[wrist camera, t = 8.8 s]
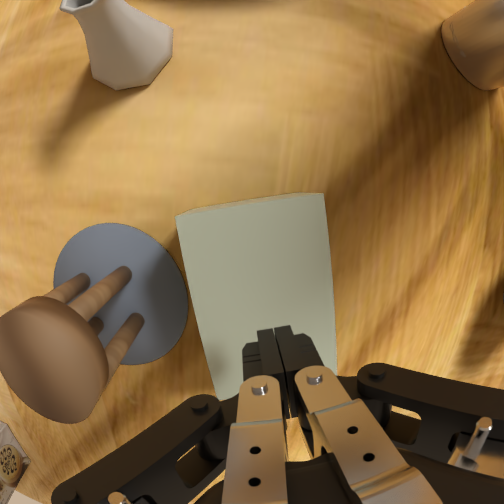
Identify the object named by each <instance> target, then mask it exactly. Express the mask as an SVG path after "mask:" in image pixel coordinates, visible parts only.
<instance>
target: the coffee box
mask: <svg viewBox="0 0 504 504" xmlns="http://www.w3.org/2000/svg"><path fill="white" fill-rule="evenodd" d="M30 462H31V461H30V460H29V458H28V457H27V455H26V454H25V452H24V451H23V449H22V448H21V446H20V445H19V443H18V442H17V440H16V439H15V437H14V435H13V434H12V432H11V430H10V429H9V427H8V425H7V424H6V423H3V422H1V421H0V504H7V503H8V502H9V500H10V498H11V496H12V494H13V492H14V490H15V488H16V486H17V485H18V483H19V481H20V479H21V477H22V476H23V474H24V472H25V470H26V469H27V467H28V465H29V463H30Z"/></svg>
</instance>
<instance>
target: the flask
mask: <svg viewBox="0 0 504 504" xmlns="http://www.w3.org/2000/svg"><path fill="white" fill-rule="evenodd" d="M60 10H61V11H63V12H66V13H69V14H73V15H74V17H75V18H76V19H77V20H78V22H79V24H80V26H81V28H82V30H83V32H84V34H85V39H86V44H87V49H88V53H89V59H90V65H91V72H92V76H93V78H94V79H96V80H98V81H100V82H101V83H103V84H105V85H107V86H109V87H111V88H113V89H114V90H121V89H126V88H131V87H137V86H142V85H148V84H151V82H152V81H153V80H154V78H155V77H156V76H157V74H158V73H159V72H160V71H161V69H162V68H163V67H164V66H165V64H166V63H167V62H168V61H169V60H170V58H171V57H172V44H173V28H171V27H169V26H168V25H166V24H164V23H162V22H160V21H158V20H156V19H154V18H152V17H150V16H148V15H146V14H145V13H143V12H141V11H139V10H137V9H135V8H134V7H132V6H130V5H129V4H127V3H126V2H125V1H124V0H62V2H61V6H60Z"/></svg>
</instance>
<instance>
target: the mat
mask: <svg viewBox="0 0 504 504" xmlns="http://www.w3.org/2000/svg"><path fill="white" fill-rule="evenodd" d="M120 266H127V267H128V268H129V269H130V270H131V272H132V279H131V280H130V281H129V282H128V283H127V284H126V285H125V286H124V287H123V288H122V289H121V290H120V291H119V292H117V293H116V294H115V295H114V296H113V297H112V298H111V299H110V300H109V301H108V302H107V303H106V304H105V305H104V306H103V307H102V308H101V309H100V310H99V311H97V312H96V313H95V314H94V315H93V316H92V317H91V318H93V317H97V318H99V319H101V320H102V322H103V324H104V328H103V330H102V331H101V332H100V333H99V335H98V338H99V340H100V341H101V343H102V345H103V348H104V349H105V347H106V346H107V345H108V343H109V342H110V341H111V339H112V338H113V337H114V335H115V334H116V333H117V331H118V330H119V329H120V328H121V326H122V325H123V324H124V322H125V321H126V320H127V318H128V317H129V316H130V315H131V314H132V313H139V314H141V315H142V316H143V318H144V320H145V323H144V325H143V327H142V328H141V330H140V332H139V333H138V335H137V337H136V338H135V340H134V341H133V343H132V345H131V346H130V348H129V350H128V351H127V353H126V355H125V356H124V358H123V359H122V361H121V363H120V364H125V365H138V364H145V363H148V362H152V361H154V360H156V359H159V358H160V357H162V356H163V355H165V354H166V353H167V352H169V351H170V350H171V349H172V348H173V347H174V345H175V344H176V343H177V342H178V340H179V338H180V337H181V335H182V332H183V330H184V328H185V324H186V320H187V314H188V297H187V290H186V286H185V283H184V279H183V277H182V275H181V272H180V270H179V268H178V267H177V265H176V263H175V261H174V260H173V258H172V257H171V256H170V254H169V253H168V252H167V251H166V250H165V249H164V248H163V247H162V245H161V244H159V243H158V242H157V241H156V240H155V239H153V238H152V237H151V236H149V235H147V234H146V233H144V232H143V231H140V230H138V229H136V228H134V227H131V226H127V225H124V224H117V223H104V224H97V225H94V226H91V227H88V228H86V229H84V230H82V231H80V232H79V233H77V234H76V235H74V236H73V237H72V238H71V239H70V240H69V241H68V242H67V244H66V245H65V246H64V248H63V249H62V251H61V253H60V255H59V257H58V260H57V263H56V267H55V271H54V281H53V282H54V289H55V288H57V287H58V286H60V285H62V284H63V283H65V282H66V281H68V280H70V279H71V278H73V277H75V276H76V275H78V274H80V273H85V274H87V275H88V276H89V278H90V281H91V283H90V286H89V287H88V288H87V289H86V290H84V291H83V292H82V293H80V294H79V295H78V296H76V297H75V298H74V299H72V300H71V301H70V302H68V303H67V305H69V304H70V303H71V302H73V301H74V300H75V299H77V298H78V297H79V296H80V295H82V294H83V293H84V292H86V291H87V290H88V289H90V288H91V287H92V286H94V285H95V284H97V283H98V282H99V281H101V280H102V279H103V278H105V277H106V276H107V275H109V274H110V273H112V272H113V271H114V270H116V269H117V268H119V267H120ZM91 318H90V319H91ZM90 319H89V320H90ZM89 320H88V321H89ZM88 321H87V322H88Z"/></svg>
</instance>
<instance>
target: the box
mask: <svg viewBox="0 0 504 504" xmlns="http://www.w3.org/2000/svg"><path fill="white" fill-rule="evenodd" d="M175 220H176V225H177V231H178V236H179V241H180V247H181V252H182V257H183V262H184V266H185V271H186V276H187V281H188V285H189V290H190V294H191V299H192V303H193V307H194V312H195V316H196V320H197V324H198V328H199V332H200V336H201V340H202V344H203V348H204V352H205V356H206V360H207V363H208V367H209V371H210V375H211V378H212V382H213V385H214V389H215V392H216V396H217V399H218V400H226V399H229V398H231V397H233V396H235V395H237V394H238V393H239V389H240V386H241V384H242V383H243V364H242V363H243V362H242V349H243V347H244V346H245V344H246V343H251V342H257V341H258V338H257V330H264V329H269V328H273V331H274V328H275V327H281V326H286V325H290V326H291V329H292V331H293V334H294V335H296V334H301V333H304V334H306V335H307V336H309V337H311V339H312V341H313V343H314V345H315V347H316V350H317V351H318V353H319V355H320V357H321V360H322V362H323V364H324V366H325V367H328V368H330V369H331V370H332V371H333V373H334V374H335V375H336V376H337V353H336V327H335V308H334V292H333V279H332V267H331V255H330V245H329V235H328V226H327V217H326V209H325V201H324V193H302V192H297V193H290V194H283V195H276V196H269V197H262V198H255V199H249V200H243V201H236V202H230V203H224V204H218V205H212V206H206V207H201V208H195V209H191V210H189V211H186V212H184V213H182V214H180V215H177V216H175ZM274 335H275V334H274Z"/></svg>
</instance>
